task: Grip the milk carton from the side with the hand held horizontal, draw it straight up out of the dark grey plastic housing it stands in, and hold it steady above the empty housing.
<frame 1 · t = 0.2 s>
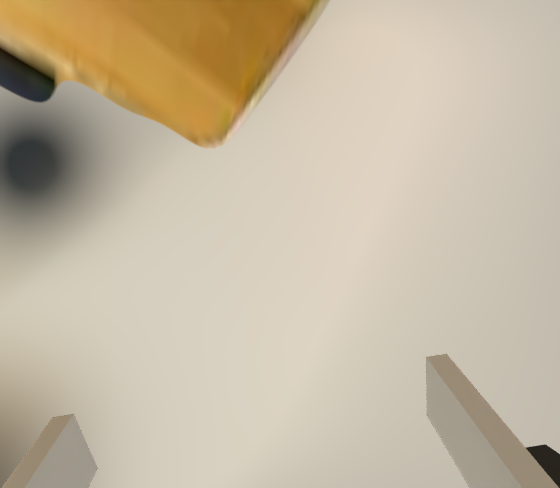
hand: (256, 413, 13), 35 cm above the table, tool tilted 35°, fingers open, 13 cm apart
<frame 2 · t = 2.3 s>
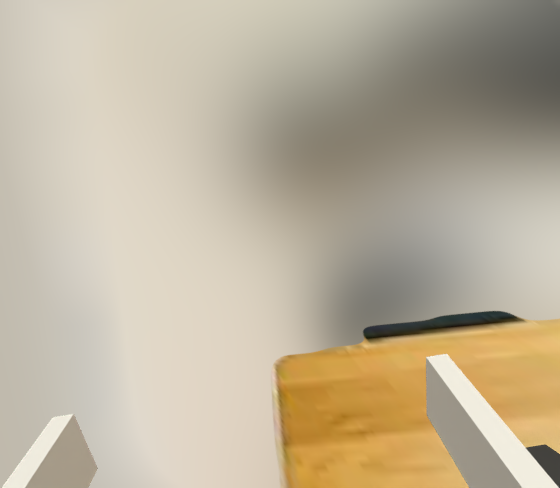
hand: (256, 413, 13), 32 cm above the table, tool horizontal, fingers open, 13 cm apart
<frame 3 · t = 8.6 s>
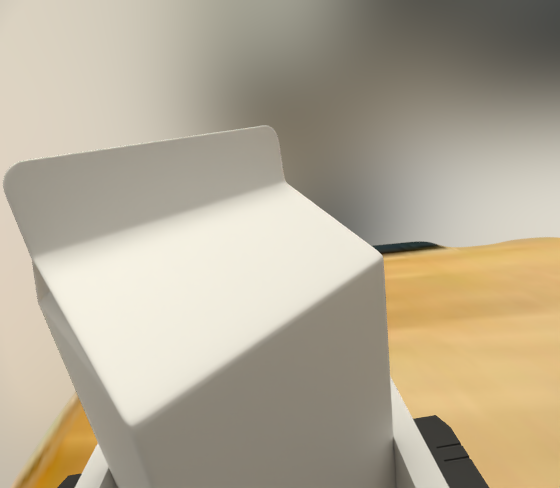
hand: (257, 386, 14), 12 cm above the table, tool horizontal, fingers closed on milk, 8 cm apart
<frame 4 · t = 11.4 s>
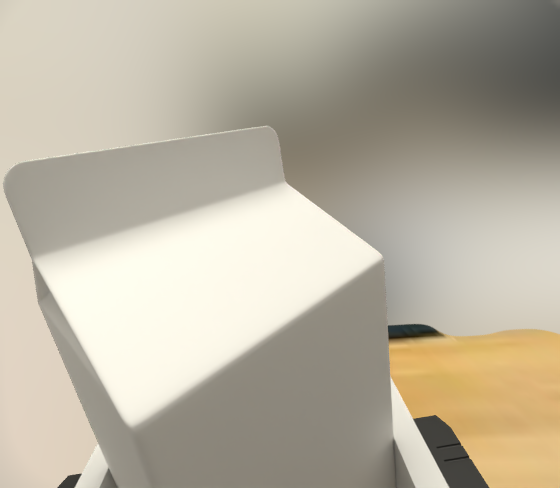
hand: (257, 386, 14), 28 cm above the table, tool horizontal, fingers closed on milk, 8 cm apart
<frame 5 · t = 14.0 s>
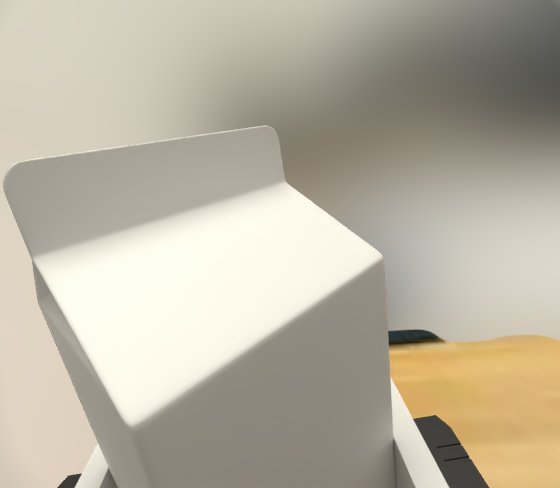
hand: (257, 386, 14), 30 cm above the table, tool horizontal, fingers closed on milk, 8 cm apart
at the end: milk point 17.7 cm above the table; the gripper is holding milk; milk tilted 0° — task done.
